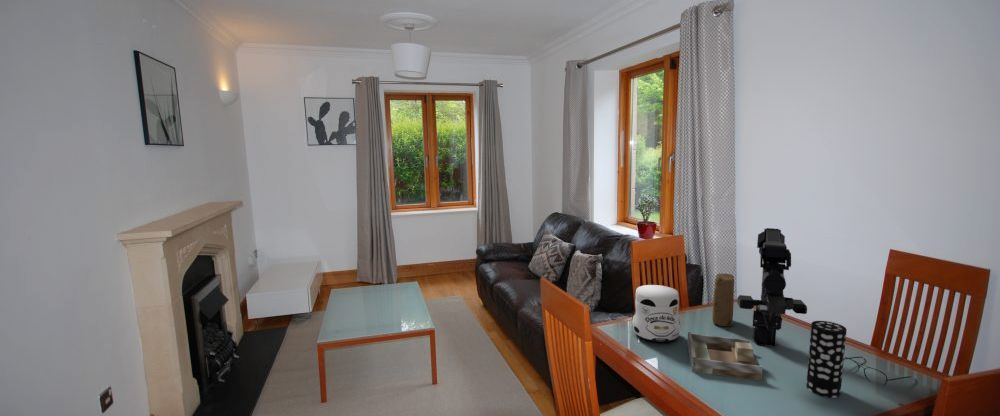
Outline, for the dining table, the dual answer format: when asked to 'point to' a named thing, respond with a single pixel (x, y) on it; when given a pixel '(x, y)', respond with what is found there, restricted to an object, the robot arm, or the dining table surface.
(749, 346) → the beech block
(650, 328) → the milk container
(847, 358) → the glasses
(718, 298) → the block
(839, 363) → the spotted tube
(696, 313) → the dining table surface
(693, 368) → the shallow wooden tray
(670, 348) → the dining table surface
